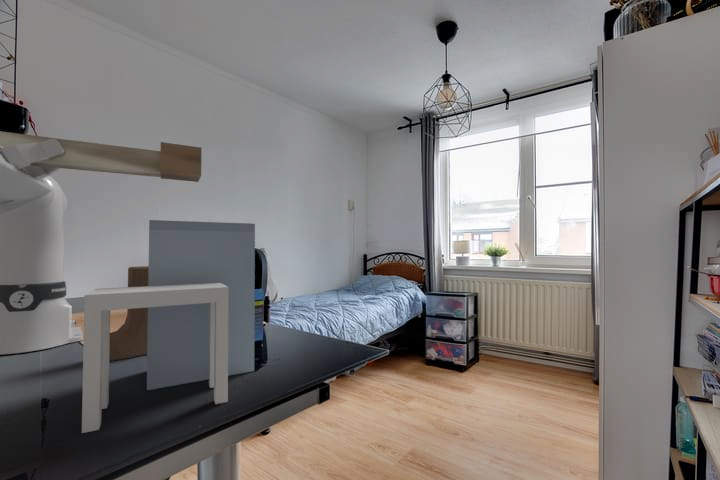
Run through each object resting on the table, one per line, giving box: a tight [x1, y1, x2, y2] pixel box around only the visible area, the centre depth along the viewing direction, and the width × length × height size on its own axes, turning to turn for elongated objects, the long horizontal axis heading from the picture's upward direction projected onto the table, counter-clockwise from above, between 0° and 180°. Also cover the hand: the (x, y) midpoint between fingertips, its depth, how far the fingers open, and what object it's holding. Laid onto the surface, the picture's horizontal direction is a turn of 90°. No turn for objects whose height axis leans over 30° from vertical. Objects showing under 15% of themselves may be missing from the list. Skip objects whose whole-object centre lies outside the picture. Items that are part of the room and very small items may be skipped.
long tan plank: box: [0, 130, 202, 183], centre depth 45 cm, size 5×21×4 cm, turn 120°
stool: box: [81, 283, 229, 434], centre depth 47 cm, size 8×16×16 cm, turn 120°
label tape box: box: [254, 288, 265, 343], centre depth 78 cm, size 9×4×12 cm, turn 141°
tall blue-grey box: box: [146, 219, 256, 391], centre depth 60 cm, size 10×16×26 cm, turn 120°
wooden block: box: [109, 265, 149, 363], centre depth 69 cm, size 9×4×18 cm, turn 135°
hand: (66, 151), depth 42 cm, fingers closed on long tan plank, 3 cm apart
